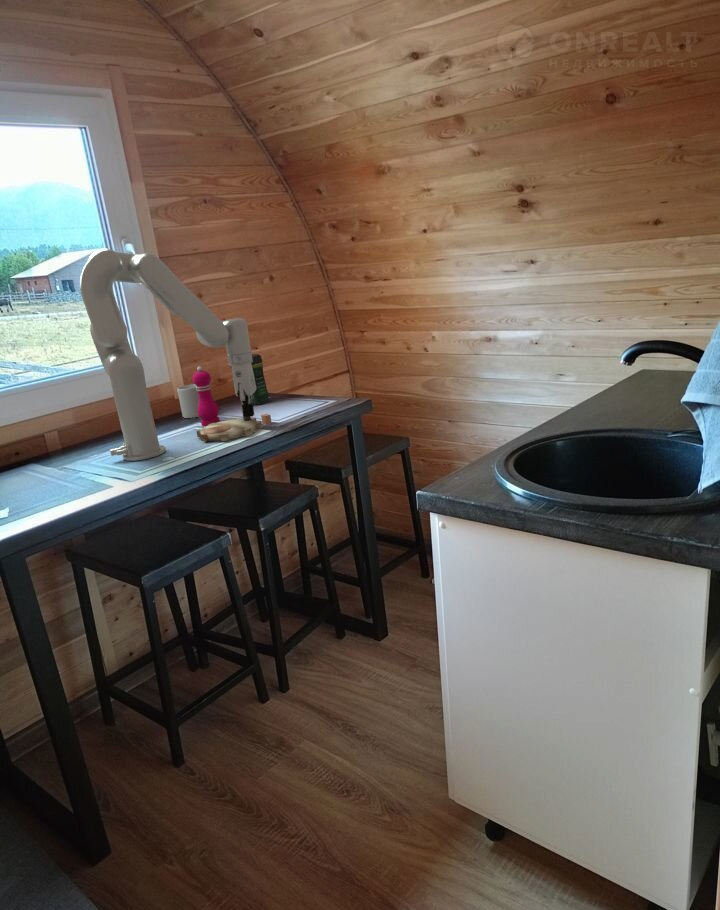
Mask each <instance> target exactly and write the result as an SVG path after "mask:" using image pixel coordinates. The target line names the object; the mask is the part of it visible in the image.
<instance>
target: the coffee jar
mask: <svg viewBox="0 0 720 910" xmlns="http://www.w3.org/2000/svg"><path fill="white" fill-rule="evenodd" d="M251 354H252V360H253V362H252V363H251V365H252V369H253V373H254V378H255V383H256V391H255V392H254V393H253V394H252V403H253V406H257V405H264V404H266V403H268V402H269V401H270V395H269V391H268V388H267V387H268V386H267V384H266V380H265V374H264V362H263V358H262V355H260V354H259V353H251Z"/></svg>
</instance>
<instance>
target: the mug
mask: <svg viewBox="0 0 720 910" xmlns="http://www.w3.org/2000/svg"><path fill="white" fill-rule="evenodd" d="M176 391H177V395H178V400H179V404H180V409H181V414H182V415H181V416H182V418H183V417H184V418H192V417H198V405H199V394H198V391H197V390H196V385H195V384H193V383H192V384H187V385H182V386H179V387H177V388H176ZM184 418H183V419H184Z"/></svg>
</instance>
